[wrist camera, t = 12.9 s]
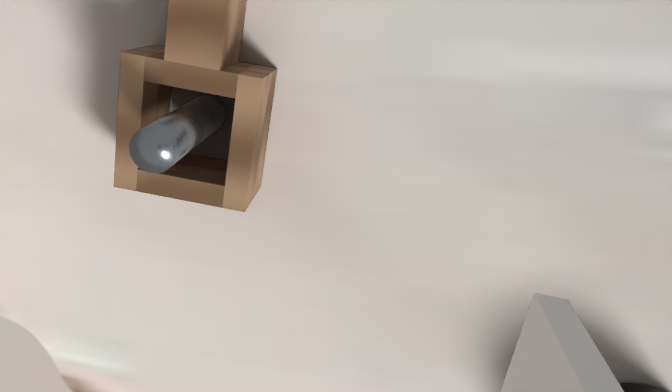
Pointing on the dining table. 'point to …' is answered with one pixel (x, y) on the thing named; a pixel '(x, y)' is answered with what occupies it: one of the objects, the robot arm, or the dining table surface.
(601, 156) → the dining table surface
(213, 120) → the pintle
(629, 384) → the mug
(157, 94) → the link
